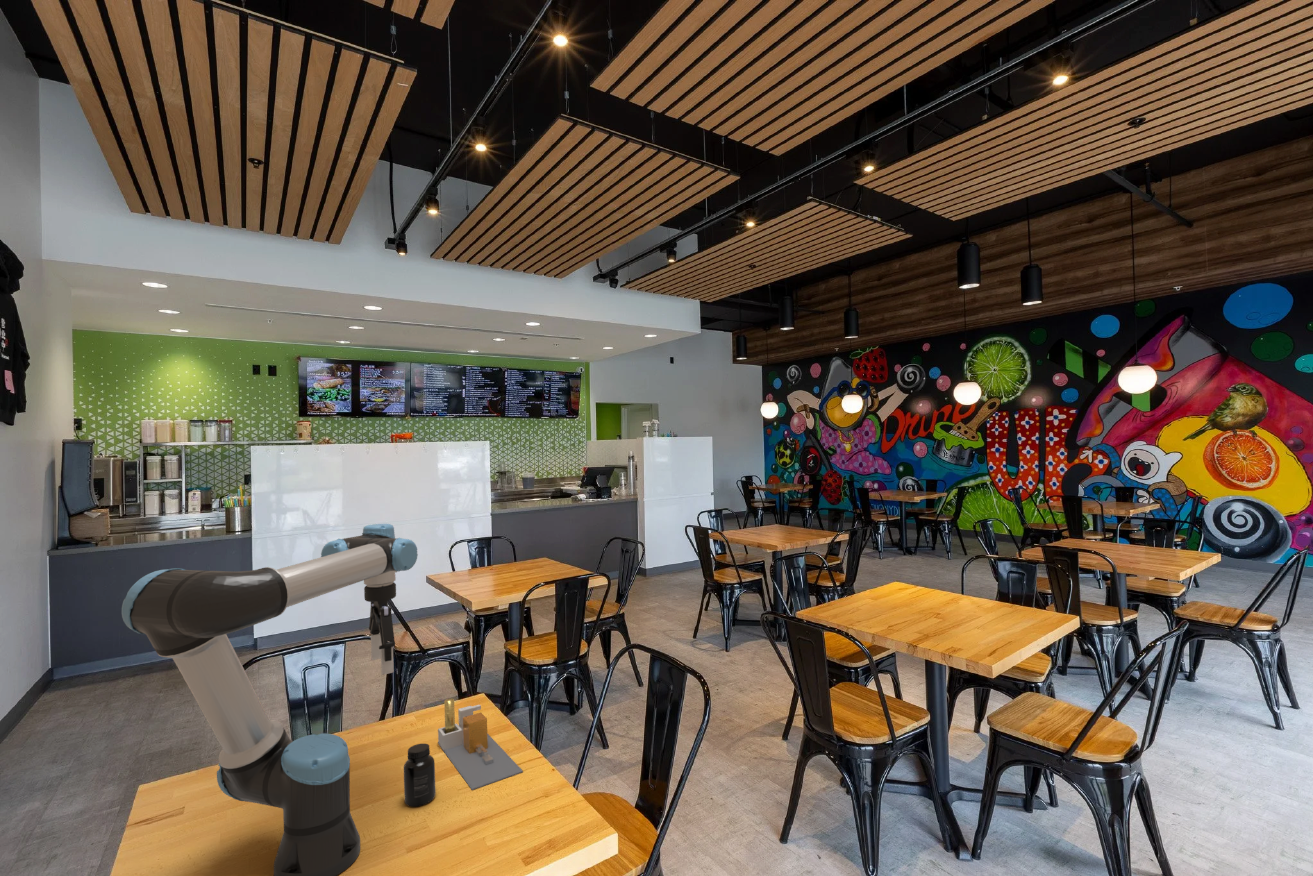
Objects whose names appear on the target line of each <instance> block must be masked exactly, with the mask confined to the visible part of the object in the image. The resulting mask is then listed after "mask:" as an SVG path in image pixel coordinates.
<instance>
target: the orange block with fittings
mask: <svg viewBox="0 0 1313 876" xmlns="http://www.w3.org/2000/svg"><path fill="white" fill-rule="evenodd" d="M487 733H488V718H487V717H486V716H485V715H484V713H482V712H478V713H473V715H470V716H466V717H463V737H464V748H465V749H466V750H467V751H468V752H469V754H470V753H474V752H475V753H476V754H477V755H478V756H479V757H480V756H481V757H482V761H483V762H484V763H485V764H486V765H487V764H490V763H493V758H492V757H491V756H490V755H488V751H487V750H486V748H488V740H487Z"/></svg>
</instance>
